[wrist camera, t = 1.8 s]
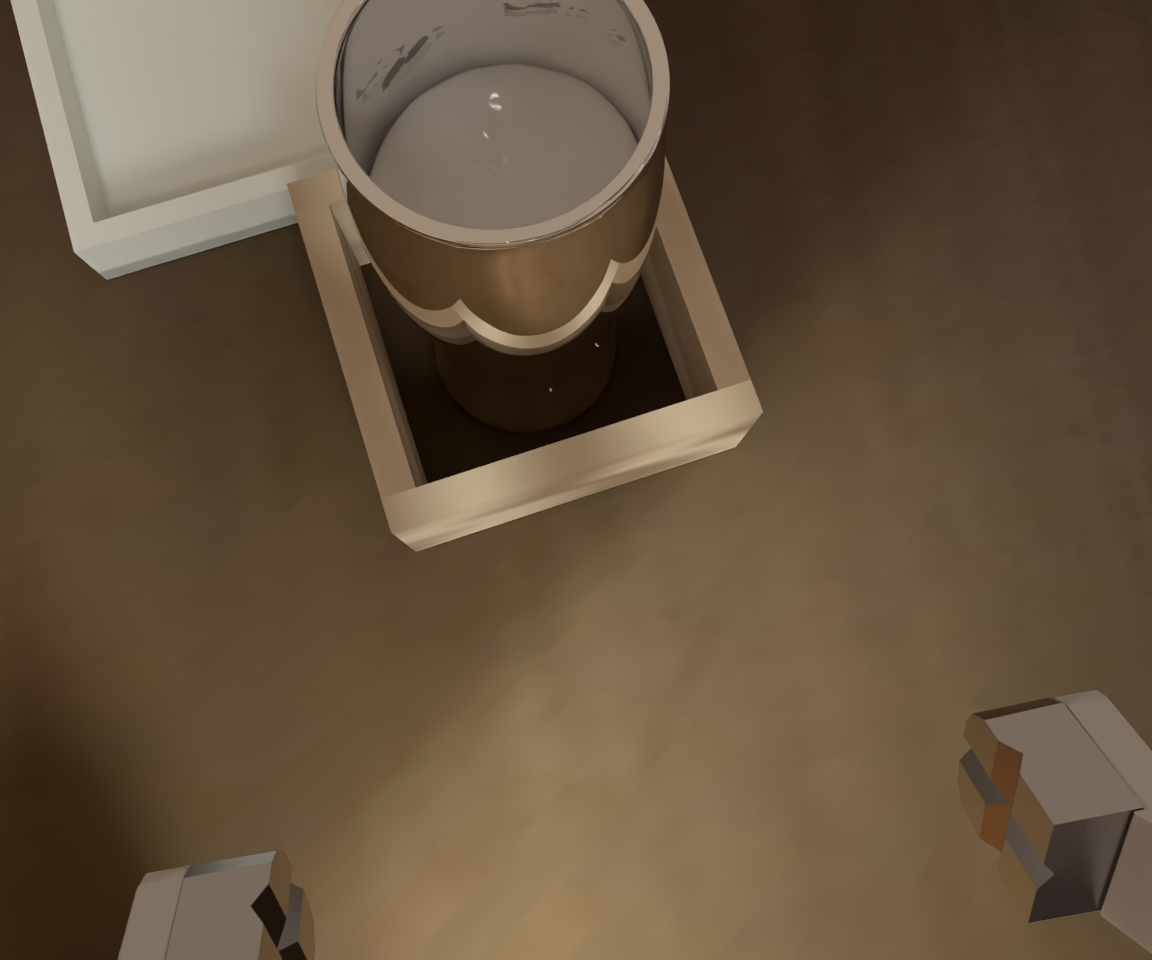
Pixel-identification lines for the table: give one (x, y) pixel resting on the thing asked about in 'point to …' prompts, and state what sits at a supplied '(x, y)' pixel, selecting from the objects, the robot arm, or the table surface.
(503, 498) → the square frame
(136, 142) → the tray
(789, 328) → the table surface
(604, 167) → the beer glass
